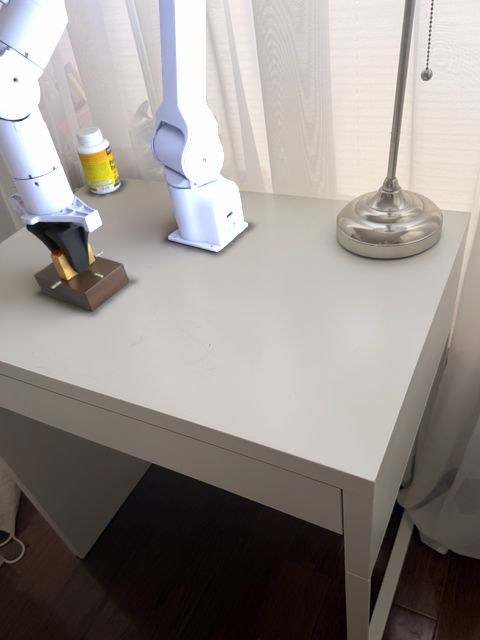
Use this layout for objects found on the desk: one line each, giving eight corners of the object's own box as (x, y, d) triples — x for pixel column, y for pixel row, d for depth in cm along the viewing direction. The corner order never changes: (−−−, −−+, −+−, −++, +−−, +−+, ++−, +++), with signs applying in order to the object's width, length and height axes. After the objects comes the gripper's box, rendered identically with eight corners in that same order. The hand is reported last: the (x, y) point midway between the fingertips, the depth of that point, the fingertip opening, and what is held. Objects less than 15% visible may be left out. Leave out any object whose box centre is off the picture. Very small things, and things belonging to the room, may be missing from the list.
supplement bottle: (122, 191, 96) (105, 133, 89) (91, 198, 95) (70, 140, 88) (120, 178, 100) (103, 122, 93) (90, 185, 99) (71, 128, 92)
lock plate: (134, 277, 75) (128, 258, 72) (86, 316, 69) (78, 296, 67) (85, 262, 79) (77, 243, 77) (36, 297, 74) (26, 278, 72)
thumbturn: (87, 258, 74) (78, 234, 71) (95, 260, 73) (86, 236, 71) (59, 277, 71) (48, 253, 69) (68, 280, 70) (57, 256, 68)
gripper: (-30, 174, 64) (19, 270, 73) (49, 194, 57) (92, 297, 66) (18, 150, 68) (58, 244, 77) (97, 166, 61) (131, 266, 70)
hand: (77, 266), depth 72 cm, fingers closed
